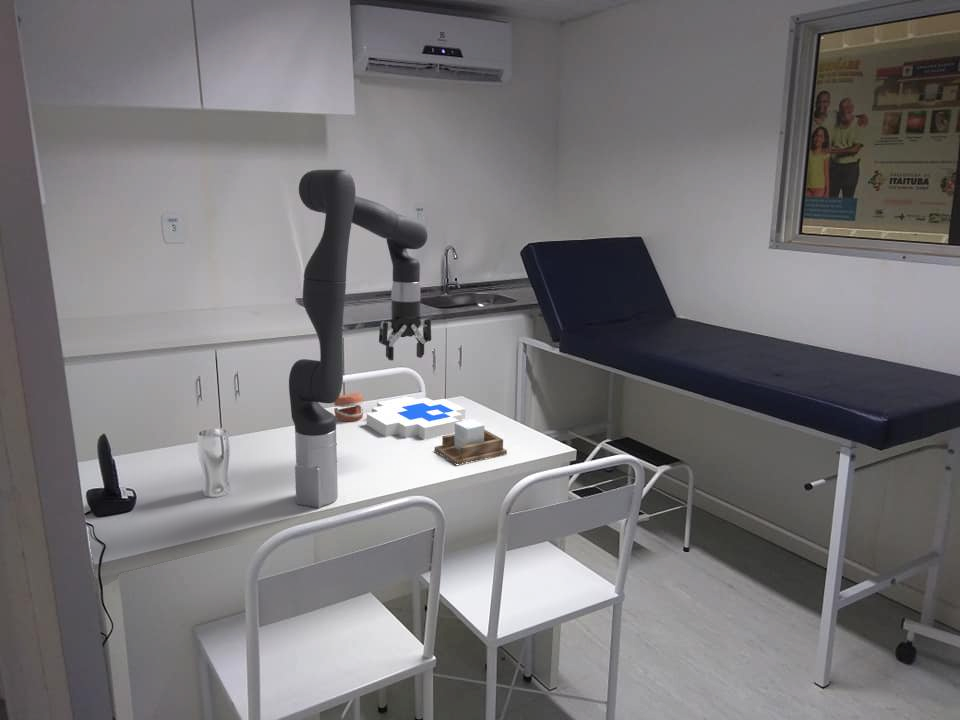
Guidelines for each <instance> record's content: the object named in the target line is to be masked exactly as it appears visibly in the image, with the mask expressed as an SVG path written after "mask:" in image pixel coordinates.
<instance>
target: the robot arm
mask: <svg viewBox="0 0 960 720" xmlns="http://www.w3.org/2000/svg"><path fill="white" fill-rule="evenodd" d="M298 195H299V198H300V200H301V202H302V203H303V205H304V206H305V207H306V208H308V209H309V210H310V211H313V212H317V213H322V214H325V219H324V227H323V228H324V229H323V232H322V235H321V239H320V241H319V243H318V244H317V246H316V248H315V249H314V252H313V253H312V255H311V256H310V258H309V260H308V262H307V264H306V267H304V268H305V269H304V272H303V273H304V274H303V281H302V282H303V284H302V302H303V303H302V304H303V306H304V309H305V312H306V314H307V316H308V318H309V320H310V322H311V324H312V326H313V328H314V330H315V333H316V335H317V339H318V342H319V343H318V344H319V351H320V353H319V354H320V355H319V356H320V360H316V359H315V360H314V359H304V358H302V359H299V360H296V361H295V362H294V364H292V366H291V369H290V372H289V377H288V390H289V391H288V393H289V401H290V413H291V419H292V421H293V424H294V435H295V436H294V439H295V440H294V441H295V442H294V443H295V465H294V477H295V478H294V481H295V500H296V501H295V502H296V505H300V506H301V505H303V506H308V507H312V508H313V507H315V508H319V509H320V508H321V507H323V506H326V505H327V506H328V505H330V504H332V503H334V502H336V501H337V499H338V497H339V495H338V494H339V493H338V490H339V489H338V462H337V461H338V460H337V459H338V456H337V455H338V454H337V453H338V452H337V445H336V443H337V419H336V415H335V414H333V413H332V412H330V411H328V410H327V409H326V408H325V407H323V406H322V405H321V404H322V403H323V404H334V402H335V401H336V400H337V399H338V397H339V396H341V392H342V388H343V381H344V357H343V356H344V355H343V353H344V352H343V350H344V349H343V328H344V311H345V300H346V289H347V283H346V282H347V267H348V265H347V264H348V263H347V262H348V254H349V244H350V237H351V236H350V235H351V229H352V224H354V225H356V226H359V227H360V228H363V229H364V230H366V231H368V232H370V233H372V234H374V235H376V236H378V237H380V238H382V239H386V244H387V248H388V252H389V256H390V260H391V263H392V285H391V295H390V296H391V306H390V307H391V313H390V315H391V319H390V321H384V320H381V321H380V322H379V334H378V335H379V336H378V343H380V345H383V346H385V357H386V358H387V360H388V361H394V360H395V359H394V355H395V354H394V345H395V343H396V342H397V341H399V339H400V337H401V338H406V337H413V338H415V340H416V341H417V342H416V357H417V358H419V359H421V358H423V356H424V355H425V343H427V342H431V341H432V322H431V319H430V318H427V317H426V318H425V317H423V318H422V319H420V317H421V284H420V281H421V280H420V279H421V278H420V276H421V271H420V270H421V265H420V261H419V260H418V259H416V258H414V257H411V256H410V255H409V252H408V250H419V249H421V248H423V247H424V246H425V244H427V241H428V232H427V231H428V230H427V228H426V227H425V226H424V224H422V222H421V221H419V220H416V219H414V218H411V217H408V216H406V215H402V214H399V213H396V212H395V211H393V210H392V209H390V208H388V207H386V206H385V205H383V204H381V203H379V202H376V201H373V200H371V199H366V198H362V197H360V196H356V184H355V180H354V178H353V176H352V175H351V173H350V172H348V171H347V170H345V169H313V170H310V171H307V172H306V173H305V174H303V176H302V177H301V179H300V180H299V183H298ZM420 326H421V327H422V334H421V332H420V330H419V328H420ZM390 327H391V328H392V330H391V332H390V333H389V334H388V331H389V330H390Z"/></svg>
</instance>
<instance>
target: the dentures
mask: <svg viewBox="0 0 960 720" xmlns="http://www.w3.org/2000/svg"><path fill="white" fill-rule="evenodd" d="M363 404H364V397H363V394H362V393H359V392H353V393H349V394H343V395H339V397H338V399H337V400H336V401H335V402H334V403H333V405H334V407H337V408H334V416H335V418H336V417H337V418H338V420H341V421H343V422H356V420H357V421H360V420H362V419H363V417H364V408H363V406H362V405H363ZM338 408H340V409H338ZM361 418H362V419H361Z"/></svg>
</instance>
